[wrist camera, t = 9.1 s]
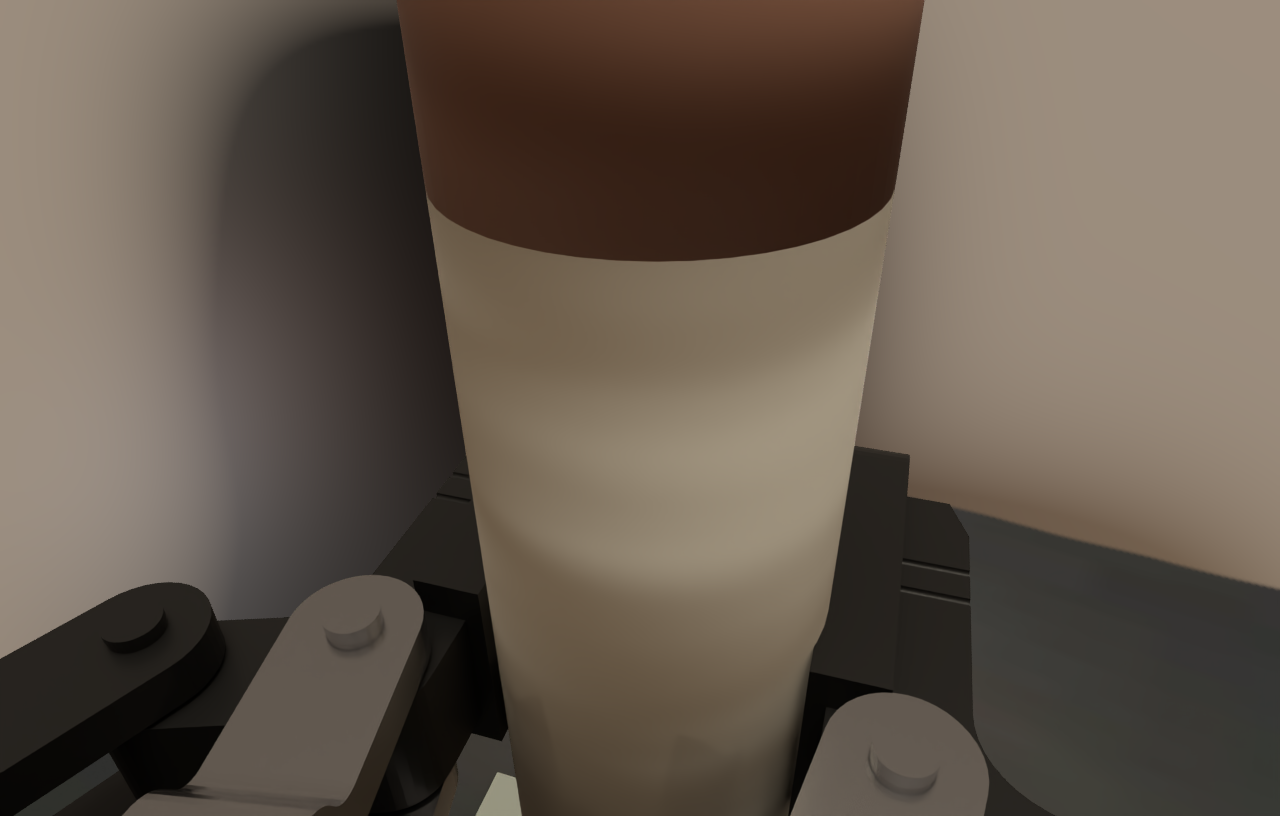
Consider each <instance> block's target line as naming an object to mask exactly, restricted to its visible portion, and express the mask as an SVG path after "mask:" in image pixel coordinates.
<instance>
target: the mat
mask: <svg viewBox="0 0 1280 816" xmlns="http://www.w3.org/2000/svg"><path fill="white" fill-rule="evenodd" d="M476 816H522V815H521V808H520V801H519V795H518V788H517V782H516V778H515V777H511V776H508V775H505V774H501V773H498V772H497V774H496V776H495V778H494V780H493V782H492V784H491V786H490V788H489V790H488V792H487V794H486V796H485V798H484V800H483V802H482V804H481V806H480V808H479V810H478V812H477V814H476Z"/></svg>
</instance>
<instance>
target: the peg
mask: <svg viewBox="0 0 1280 816" xmlns="http://www.w3.org/2000/svg"><path fill="white" fill-rule="evenodd" d="M397 5H398V12H399V19H400V25H401V32H402V38H403V45H404V51H405V58H406V64H407V71H408V77H409V84H410V91H411V96H412V104H413V110H414V117H415V123H416V130H417V136H418V143H419V149H420V155H421V162H422V169H423V174H424V182H425V188H426V193H427V201H428V208H429V215H430V220H431V227H432V234H433V241H434V247H435V254H436V260H437V266H438V273H439V280H440V286H441V293H442V299H443V306H444V312H445V318H446V325H447V332H448V338H449V345H450V351H451V357H452V365H453V371H454V377H455V384H456V391H457V397H458V404H459V410H460V417H461V423H462V429H463V436H464V443H465V448H466V456H467V462H468V469H469V475H470V482H471V488H472V495H473V501H474V508H475V514H476V521H477V528H478V534H479V541H480V547H481V554H482V560H483V567H484V573H485V580H486V586H487V593H488V599H489V606H490V612H491V619H492V625H493V632H494V638H495V645H496V651H497V658H498V665H499V671H500V678H501V684H502V691H503V697H504V704H505V710H506V717H507V723H508V730H509V736H510V743H511V749H512V756H513V762H514V769H515V775H516V782H517V788H518V795H519V801H520V808H521V815H522V816H788V813H789V806H790V800H791V793H792V786H793V779H794V773H795V766H796V759H797V752H798V746H799V739H800V732H801V726H802V719H803V712H804V705H805V699H806V692H807V685H808V678H809V672H810V666H811V660H812V654H813V649H814V646H815V644H816V643H817V641H818V639H819V636H820V634H821V632H822V630H823V628H824V625H825V621H826V617H827V614H828V610H829V603H830V597H831V591H832V584H833V578H834V572H835V565H836V559H837V553H838V546H839V540H840V534H841V527H842V521H843V514H844V508H845V502H846V495H847V489H848V483H849V476H850V470H851V464H852V457H853V451H854V445H855V438H856V432H857V426H858V419H859V413H860V406H861V400H862V394H863V387H864V380H865V374H866V368H867V362H868V355H869V349H870V343H871V337H872V330H873V324H874V317H875V311H876V305H877V298H878V292H879V286H880V279H881V273H882V267H883V260H884V254H885V247H886V241H887V235H888V229H889V222H890V216H891V210H892V203H893V196H894V190H895V184H896V178H897V171H898V165H899V159H900V152H901V146H902V139H903V133H904V127H905V121H906V114H907V108H908V102H909V95H910V89H911V82H912V76H913V70H914V63H915V57H916V51H917V44H918V38H919V32H920V25H921V19H922V12H923V6H924V0H397Z"/></svg>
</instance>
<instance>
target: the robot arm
mask: <svg viewBox="0 0 1280 816" xmlns="http://www.w3.org/2000/svg"><path fill="white" fill-rule="evenodd" d="M909 462H910V455H908V454H902V453H895V452H889V451H883V450H877V449H870V448H864V447H858V446H854V451H853V457H852V464H851V470H850V476H849V483H848V489H847V495H846V502H845V508H844V514H843V521H842V527H841V534H840V540H839V546H838V553H837V559H836V565H835V572H834V578H833V584H832V591H831V597H830V603H829V610H828V614H827V617H826V621H825V625H824V628H823V630H822V632H821V634H820V636H819V639H818V641H817V643H816V644H815V646H814V649H813V654H812V660H811V666H810V672H809V678H808V685H807V692H806V699H805V705H804V712H803V719H802V726H801V732H800V739H799V746H798V752H797V759H796V766H795V773H794V779H793V786H792V793H791V800H790V806H789V813H788V816H1055V815H1053V814H1051V813H1050V812H1048V811H1046V810H1044V809H1043V808H1041V807H1039V806H1038V805H1036V804H1035V803H1033V802H1031V801H1030V800H1029V799H1027V798H1026V797H1025V796H1023V795H1022V794H1021V793H1019V792H1018V791H1017V790H1016V789H1015V788H1014V787H1013V786H1011V785H1010V784H1009V783H1008V782H1007V781H1006V780H1005V779H1004V778H1003V777H1002V776H1001V774H1000V773H999V772H998V771H997V770H996V768H995V767H994V766H993V765H992V763H991V762H990V760H989V759H988V757H987V756H986V754H985V753H984V751H983V748H982V746H981V744H980V742H979V740H978V737H977V734H976V731H975V727H974V720H973V700H972V654H971V607H970V606H969V604H970V577H969V572H970V561H969V536H968V534H967V532H966V531H965V529H964V527H963V526H962V524H961V522H960V521H959V519H958V517H957V516H956V514H955V512H954V511H953V509H952V507H951V506H950V504H946V503H940V502H934V501H929V500H923V499H917V498H911V497H907V488H908V475H909ZM507 730H508V723H507V717H506V710H505V704H504V697H503V691H502V684H501V678H500V671H499V665H498V658H497V651H496V645H495V638H494V632H493V625H492V619H491V612H490V606H489V599H488V593H487V586H486V580H485V573H484V567H483V560H482V554H481V547H480V541H479V534H478V528H477V521H476V514H475V508H474V501H473V495H472V488H471V482H470V475H469V469H468V462H467V456H465V458H464V459H463V460H462V462H461V463H460V464H459V465H458V467H457V468H456V469H455V470H454V472H453V477H449V478H448V479H447V481H446V482H445V483H444V484H443V486H442V487H441V488H440V490H439V491H438V492H437V497H436V499H434V498H432V500H431V501H430V502H429V503H428V505H427V506H426V507H425V508H424V510H423V511H422V512H421V514H420V515H419V516H418V517H417V519H416V520H415V521H414V522H413V524H412V525H411V526H410V527H409V529H408V530H407V531H406V532H405V534H404V535H403V536H402V538H401V539H400V540H399V541H398V543H397V544H396V545H395V546H394V548H393V549H392V550H391V551H390V553H389V554H388V555H387V557H386V558H385V559H384V560H383V562H382V563H381V564H380V565H379V567H378V568H377V569H376V570H375V572H374V573H373V574H372V575H364V576H356V577H352V578H347V579H344V580H341V581H338V582H335V583H332V584H330V585H329V586H326V587H324V588H322V589H320V590H319V591H318V592H316V593H314V594H312V595H311V596H310V597H309V598H307V599H306V600H305V601H304V602H302V604H301V605H300V606H299V607H298V608H297V609H296V610H295V611H294V612H293V614H292V615H291V617H284V618H266V619H245V620H225V621H217V619H216V616H215V614H214V612H213V609H212V607H211V604H210V602H209V600H208V598H207V597H206V595H205V594H204V593H203V592H202V591H200V590H199V589H197V588H195V587H193V586H190V585H187V584H182V583H172V582H168V583H155V584H150V585H145V586H141V587H138V588H134V589H131V590H128V591H126V592H123V593H121V594H118V595H116V596H114V597H112V598H110V599H108V600H107V601H105V602H103V603H101V604H99V605H97V606H96V607H94V608H92V609H90V610H88V611H87V612H85V613H83V614H81V615H79V616H77V617H76V618H74V619H72V620H70V621H68V622H67V623H65V624H63V625H61V626H59V627H57V628H56V629H54V630H52V631H50V632H48V633H47V634H45V635H43V636H41V637H40V638H37V639H36V640H34V641H32V642H30V643H29V644H27V645H25V646H23V647H21V648H19V649H17V650H16V651H14V652H12V653H10V654H8V655H7V656H5V657H3V658H1V659H0V816H14V815H15V814H17V813H18V812H20V811H21V810H23V809H24V808H26V807H27V806H29V805H30V804H32V803H33V802H35V801H36V800H38V799H39V798H41V797H42V796H44V795H45V794H47V793H48V792H50V791H51V790H53V789H54V788H56V787H57V786H59V785H60V784H62V783H64V782H65V781H67V780H68V779H70V778H71V777H73V776H74V775H76V774H77V773H79V772H80V771H82V770H83V769H85V768H86V767H88V766H89V765H91V764H92V763H94V762H95V761H97V760H98V759H100V758H101V757H103V756H104V755H106V754H107V753H109V754H110V755H111V757H112V759H113V761H114V762H115V764H116V766H117V767H118V769H119V771H118V772H116V773H115V774H114V775H112V776H111V777H109V778H108V779H106V780H105V781H103V782H102V783H100V784H99V785H97V786H96V787H94V788H93V789H91V790H90V791H88V792H87V793H86V794H84V795H83V796H81V797H80V798H78V799H77V800H75V801H74V802H72V803H71V804H69V805H68V806H66V807H65V808H63V809H62V810H60V811H59V812H58V813H56V814H55V815H53V816H448V814H449V811H450V808H451V805H452V801H453V798H454V795H455V792H456V788H457V783H458V768H457V762H456V761H457V759H458V757H459V756H460V754H461V752H462V750H463V748H464V746H465V744H466V743H467V741H468V739H469V737H470V735H471V733H473V734H477V735H481V736H484V737H488V738H492V739H496V740H499V741H502V740H503V738H504V736H505V734H506V732H507Z"/></svg>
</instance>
